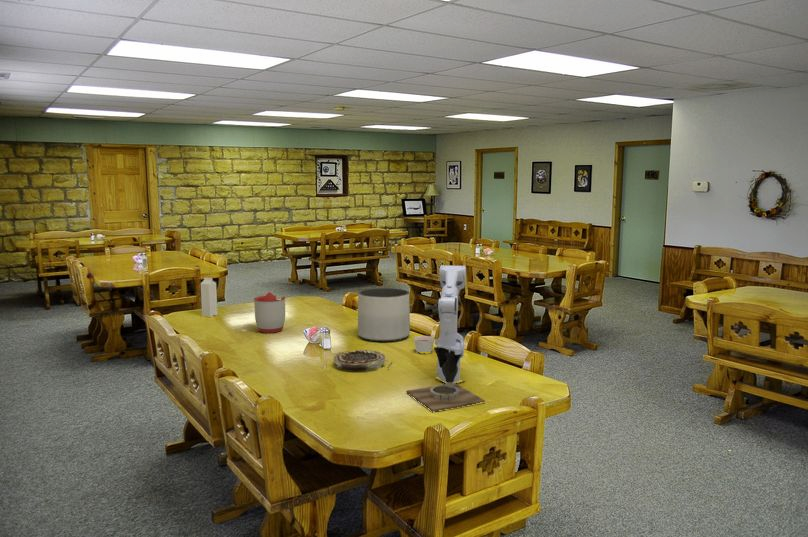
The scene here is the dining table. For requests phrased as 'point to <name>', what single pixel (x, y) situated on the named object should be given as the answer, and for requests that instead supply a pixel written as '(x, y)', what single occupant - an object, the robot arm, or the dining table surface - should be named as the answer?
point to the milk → (208, 297)
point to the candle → (423, 343)
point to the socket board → (436, 405)
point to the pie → (359, 360)
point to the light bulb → (449, 375)
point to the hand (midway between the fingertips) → (447, 369)
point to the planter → (383, 314)
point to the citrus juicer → (269, 313)
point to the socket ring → (444, 397)
